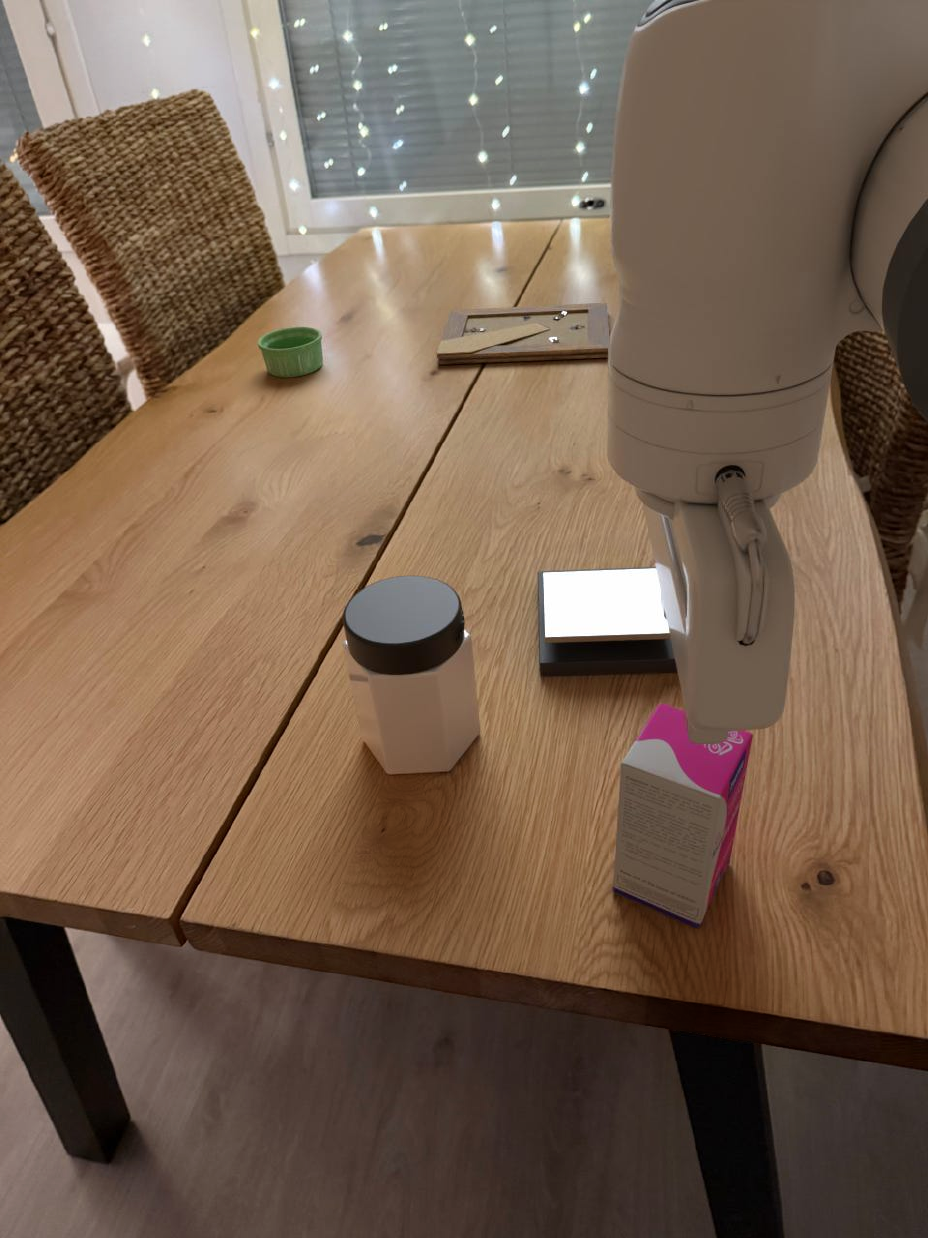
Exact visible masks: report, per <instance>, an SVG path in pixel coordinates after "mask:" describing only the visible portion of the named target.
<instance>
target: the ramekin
mask: <svg viewBox="0 0 928 1238" xmlns="http://www.w3.org/2000/svg"><path fill="white" fill-rule="evenodd" d="M322 339H323V334H322V331H320V330H319V329H318V328H315V327H311V326H290V327H284V328H280V329H276V330H273V331H270V332H268V333H265V334H264V335H262V336H261V337H260V338H259V339H258V341H257V347H258V348H259V350H260V352H261V355H262V358H263V362H264V364H265V368H266V371H267V372H268V373H269V374H270V375H272V376H274V377H278V378H296V377H302V376H305V375H309V374H311V373H314V372H316V371H317V370H319V369H320V368H321V367H322V365H323V363H324V357H323V349H322V348H323V347H322V346H323V345H322Z"/></svg>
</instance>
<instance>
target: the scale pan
mask: <svg viewBox="0 0 928 1238" xmlns="http://www.w3.org/2000/svg"><path fill="white" fill-rule="evenodd" d="M543 590H544V624H545V643H563V642H594V641H625V640H656V639H671V638H670V633H669V628H668V623H667V620H666V619H665V617H664V614H663V610H662V605H661V601H660V600H661V590H660V585H659V580H658V575H657V570H656V568H653V569H627V570H602V571H576V572H550V573H543Z"/></svg>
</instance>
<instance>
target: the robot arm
mask: <svg viewBox="0 0 928 1238" xmlns="http://www.w3.org/2000/svg"><path fill="white" fill-rule="evenodd" d="M614 120H615V121H614V131H613V143H612V159H611V160H612V161H611V173H610V175H611V176H610V199H609V248H610V252H611V253H610V254H611V258H612V262H613V265H614V268H615V272H616V277H617V284H618V304H617V312H616V316H615V319H614V321H613V325H612V328H611V331H610V334H609V346H608V357H607V407H606V419H607V420H606V458H607V461H608V464H609V465H610V467H611V469H612V471H613V472H614V473H616V475H617V476H619V477H620V478H621V479H622V480H623V481H625V482H626V483H628V484H629V485H631V486H633V488H634V492H635V495H636V496H637V498H638V499H639V501H640V502H641V503H642V508H643V512H644V515H645V516H644V517H645V521H646V527H647V531H648V536H649V541H650V547H651V551H652V555H653V561H654V565H655V566H654V567H656V570H657V575H658V580H659V585H660V590H661V600H660V601H661V605H662V610H663V614H664V617H665V619H666V620H667V623H668V628H669V633H670V638H671V643H672V647H673V652H674V657H675V662H676V667H677V671H678V672H677V675H678V681H679V685H680V691H681V696H682V700H683V704H684V709H685V710H684V711H686V712H685V721H686V727H687V732H688V738H689V740H690V741H691V742H692V743H694V744H719V743H722V742H724V741H725V740H726V739H727V738H728V733H729V731H756V730H764V729H768V728H770V727H773V726H774V725H776V724H777V723H778V722H779V721H780V720H781V718H782V717H783V714H784V711H785V707H786V701H787V699H786V698H787V691H788V683H789V673H790V666H791V655H792V648H793V647H792V646H793V645H792V644H793V635H794V623H795V607H796V606H795V603H796V601H795V598H796V597H795V595H796V594H795V578H794V577H795V576H794V571H793V564H792V561H791V557H790V555H789V552H788V549H787V547H786V544H785V542H784V540H783V537H782V535H781V532H780V531H779V528H778V525H777V523H776V520H775V518H774V515H773V514H772V511H771V509H772V508H773V507H774V506H775V505H776V504H777V503H778V501H779V499H780V498H781V494H783V493H785V492H788V491H790V490H792V489H794V488H796V487H798V486H800V484H802V483H803V482H805V481H806V480H807V479H808V478H809V477H810V476H811V474H813V472H814V470H815V468H816V466H817V463H818V460H819V452H820V446H821V440H822V434H823V429H824V422H825V416H826V412H827V411H826V410H827V405H828V399H829V398H828V397H829V392H830V386H831V380H832V374H833V367H834V361H835V355H836V350H837V346H838V345H839V343H840V342H841V341H842V340H843V339H844V338H845V337H847V336H848V335H851V334H854V333H857V332H873V331H874V332H876V331H877V332H884V334H885V336H886V341H887V343H888V347H889V349H890V351H891V354H892V357H893V360H894V362H895V365H896V368H897V370H898V373H899V375H900V378H901V380H902V383H903V386H904V388H905V392H906V393H907V395H908V397H909V399H910V401H911V403H912V405H913V406H914V407H915V409H916V410H917V412H918V413H919V414H920V416H921V417H922V418H923V419H924V420H925V421H926V423H928V0H653V2H652V3H651V4H650V5H649V6H648V7H647V9H646V11H645V13H644V14H643V16H642V17H641V18H640V19H639V21H638V22H637V24H636V25H635V27H634V30H633V31H632V34H631V36H630V39H629V42H628V45H627V49H626V52H625V55H624V61H623V64H622V70H621V76H620V82H619V87H618V94H617V103H616V109H615V119H614Z"/></svg>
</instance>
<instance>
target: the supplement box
mask: <svg viewBox="0 0 928 1238" xmlns="http://www.w3.org/2000/svg"><path fill="white" fill-rule="evenodd" d="M685 712H686V710H683V709H681V708H677V707H675V706H672V705H669V704H666V703H664V702H660V703H658V705H657V706H656V707H655V708H654V710H653V712H652V713H651V715H650V716H649V717H648V719H647V721H646V723H645V724H644V726H643V727H642V729H641V730H640V732H639V734H638V735H637V737H636V738H635V739H634V742H633V743H632V745H631V746H630V747H629V749H628V751H627V753H626V754H625V755H624V757H623V759H622V761H621V763H620V771H619V772H620V773H619V774H620V775H619V788H618V791H619V793H618V804H617V819H616V835H615V851H614V852H615V853H614V868H613V880H612V887H611V891H612V893H613V894H616V895H618V896H620V897H622V898H625V899H627V900H630V901H631V902H634V903H637V904H639V905H641V906H644V907H646V908H648V909H651V910H653V911H655V912H657V913H660V914H663V915H665V916H667V917H669V918H671V919H673V920H676V921H678V922H681V923H682V924H685V925H687V926H690V927H692V928H695V929H699V928H700V927H701V926H702V924H703V921H704V918H705V916H706V913H707V911H708V908H709V906H710V903H711V901H712V899H713V898H714V896H715V893H716V892H717V889H718V886H719V884H720V882H721V880H722V878H723V876H724V874H725V872H726V870H727V868H728V866H729V865H730V862H731V858H732V854H733V853H732V852H733V847H734V843H735V842H734V841H735V838H736V837H735V836H736V829H737V825H738V819H739V814H740V808H741V803H742V797H743V792H744V786H745V781H746V776H747V768H748V764H749V760H750V754H751V748H752V743H753V738H754V735H753V733H751V732H749V731H748V730H745V731H729V733H728V738H727V739H726V740H725V741H724V742H722V743H719V744H694V743H692V742H691V741H690V740H689V738H688V732H687V727H686V721H685Z"/></svg>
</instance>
